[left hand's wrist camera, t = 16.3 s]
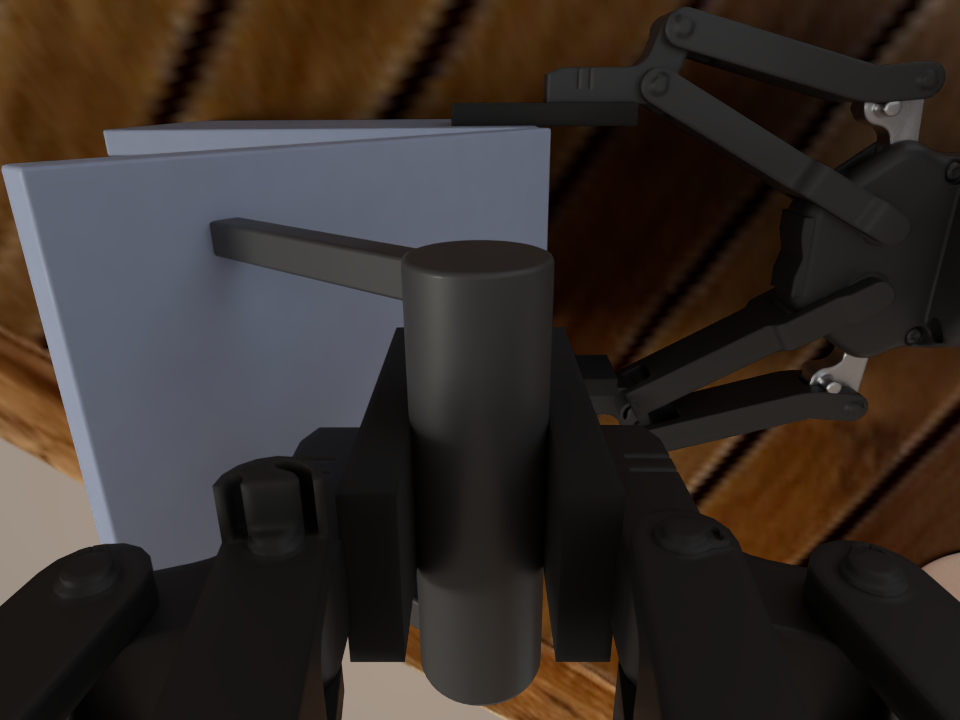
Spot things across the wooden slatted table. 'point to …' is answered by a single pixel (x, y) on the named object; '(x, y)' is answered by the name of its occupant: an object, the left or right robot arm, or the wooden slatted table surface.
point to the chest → (268, 133)
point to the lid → (315, 349)
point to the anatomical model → (946, 573)
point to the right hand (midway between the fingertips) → (455, 254)
